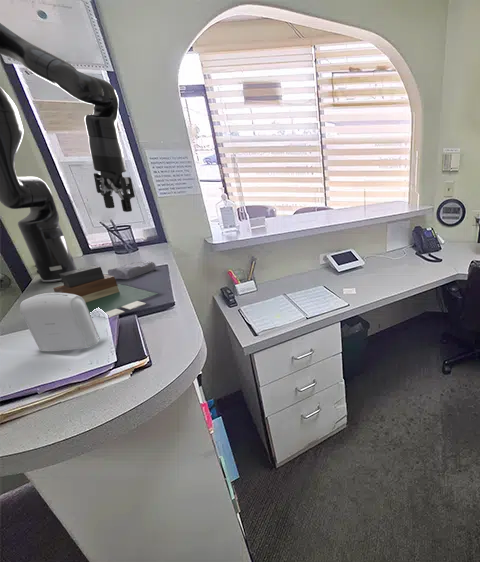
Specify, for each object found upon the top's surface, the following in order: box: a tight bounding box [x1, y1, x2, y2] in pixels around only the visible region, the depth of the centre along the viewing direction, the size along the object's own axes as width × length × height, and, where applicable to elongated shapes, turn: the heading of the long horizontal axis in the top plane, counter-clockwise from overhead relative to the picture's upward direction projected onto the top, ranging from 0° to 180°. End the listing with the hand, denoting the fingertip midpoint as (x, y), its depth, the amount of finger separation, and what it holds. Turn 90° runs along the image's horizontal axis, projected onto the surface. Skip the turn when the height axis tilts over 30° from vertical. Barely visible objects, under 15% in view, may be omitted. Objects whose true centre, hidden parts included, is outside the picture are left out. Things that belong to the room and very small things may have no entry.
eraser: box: [53, 265, 119, 303], centre depth 87 cm, size 5×12×8 cm, turn 155°
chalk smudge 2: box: [121, 301, 147, 311], centre depth 83 cm, size 4×4×1 cm
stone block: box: [107, 260, 157, 280], centre depth 109 cm, size 12×5×10 cm
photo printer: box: [19, 292, 101, 352], centre depth 63 cm, size 10×4×12 cm, turn 96°
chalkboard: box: [86, 283, 159, 313], centre depth 87 cm, size 20×20×1 cm
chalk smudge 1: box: [105, 308, 126, 319], centre depth 79 cm, size 4×4×1 cm
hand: (118, 209), depth 98 cm, fingers open, 8 cm apart
